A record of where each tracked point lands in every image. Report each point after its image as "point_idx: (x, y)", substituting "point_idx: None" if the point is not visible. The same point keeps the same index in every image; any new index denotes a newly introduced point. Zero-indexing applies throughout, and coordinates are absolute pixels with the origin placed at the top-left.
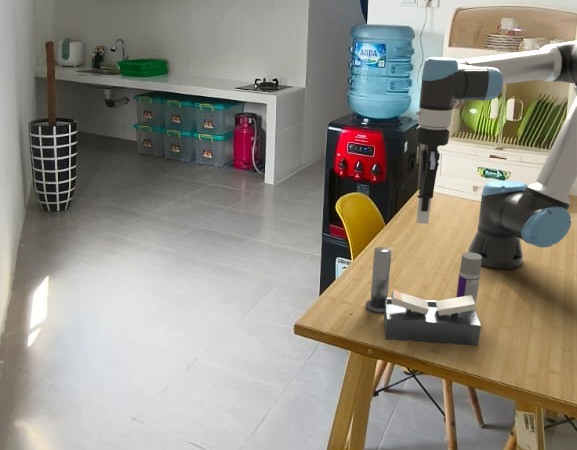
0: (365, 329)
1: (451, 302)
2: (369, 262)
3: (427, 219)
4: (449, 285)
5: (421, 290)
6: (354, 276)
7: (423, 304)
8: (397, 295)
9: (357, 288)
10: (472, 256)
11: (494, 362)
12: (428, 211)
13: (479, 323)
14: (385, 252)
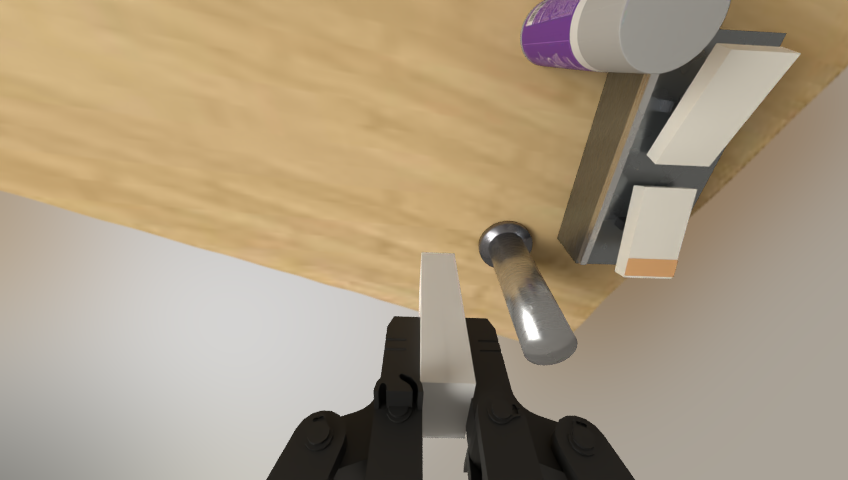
0: (588, 269)
1: (707, 125)
2: (264, 245)
3: (455, 272)
4: (359, 40)
5: (407, 137)
6: (355, 277)
7: (674, 201)
8: (653, 269)
9: (415, 274)
10: (683, 14)
11: (815, 8)
12: (461, 304)
13: (771, 35)
14: (567, 343)
